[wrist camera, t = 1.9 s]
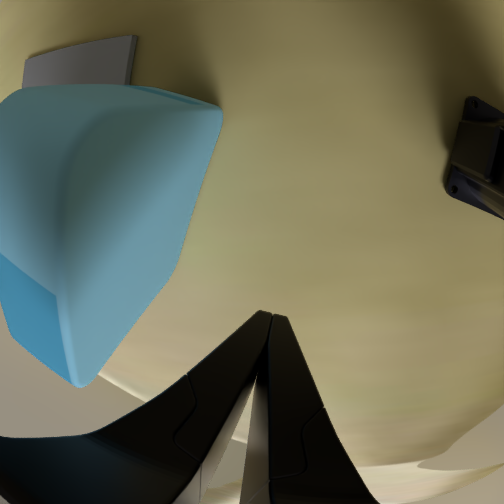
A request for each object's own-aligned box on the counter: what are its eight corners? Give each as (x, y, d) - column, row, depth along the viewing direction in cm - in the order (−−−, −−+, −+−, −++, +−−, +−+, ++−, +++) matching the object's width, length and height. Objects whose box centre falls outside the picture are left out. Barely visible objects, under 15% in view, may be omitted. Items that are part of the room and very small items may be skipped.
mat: (137, 36, 13) (132, 34, 13) (128, 295, 23) (124, 299, 22) (30, 59, 14) (25, 59, 14) (38, 261, 24) (34, 264, 23)
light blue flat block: (163, 87, 15) (-15, 91, 4) (230, 107, 15) (73, 112, 4) (124, 247, 21) (14, 350, 10) (175, 272, 21) (80, 401, 10)
